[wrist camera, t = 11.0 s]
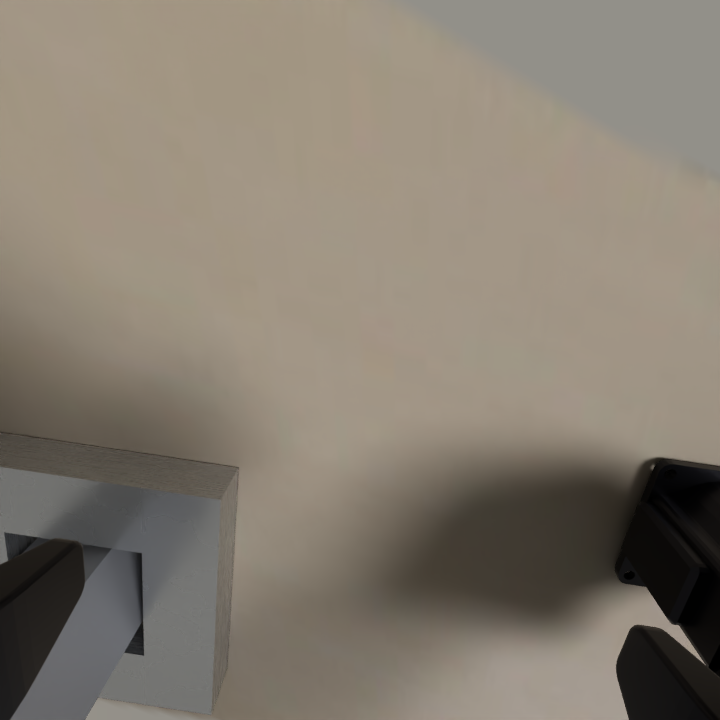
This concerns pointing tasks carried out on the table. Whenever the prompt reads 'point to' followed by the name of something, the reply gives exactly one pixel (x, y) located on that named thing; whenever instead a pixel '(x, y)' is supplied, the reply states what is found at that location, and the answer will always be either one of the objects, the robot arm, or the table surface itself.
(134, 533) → the socket
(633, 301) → the table surface
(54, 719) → the plug
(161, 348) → the table surface
